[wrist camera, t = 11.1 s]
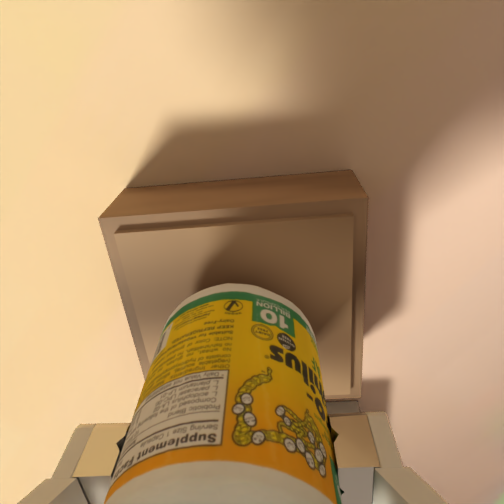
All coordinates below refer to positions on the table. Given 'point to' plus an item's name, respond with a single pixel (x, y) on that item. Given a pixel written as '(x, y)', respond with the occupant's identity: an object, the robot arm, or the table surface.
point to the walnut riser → (248, 256)
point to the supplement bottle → (230, 408)
